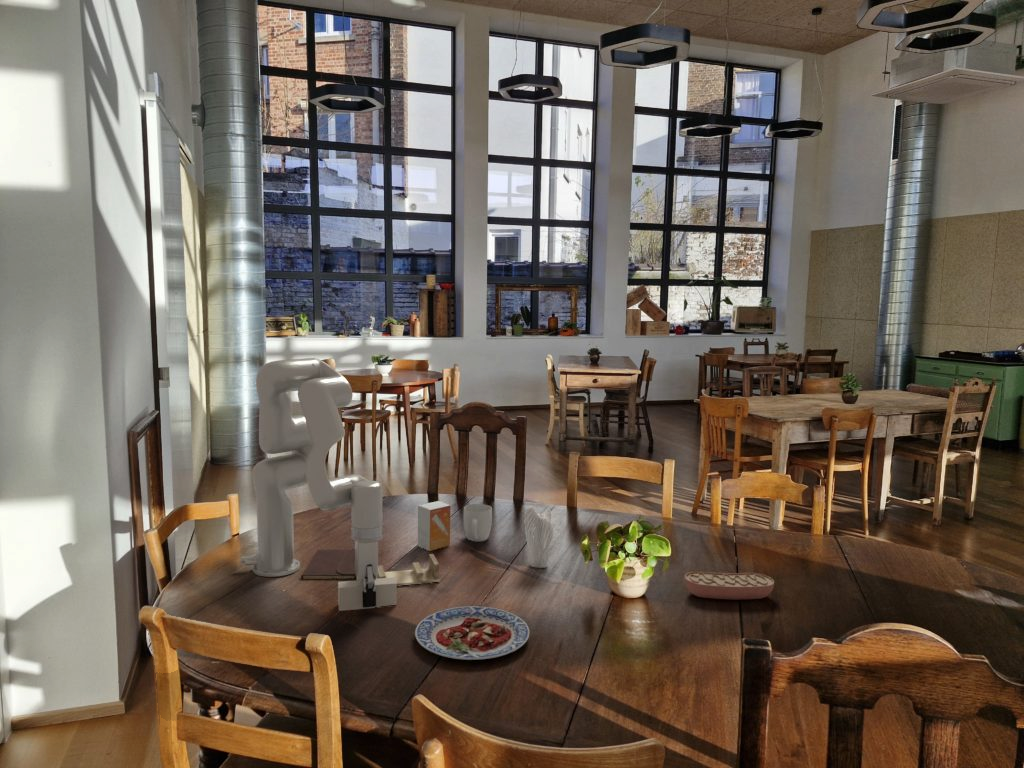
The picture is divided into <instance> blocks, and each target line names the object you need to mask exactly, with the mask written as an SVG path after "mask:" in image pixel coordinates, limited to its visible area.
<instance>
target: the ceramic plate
mask: <svg viewBox="0 0 1024 768" xmlns="http://www.w3.org/2000/svg"><path fill="white" fill-rule="evenodd" d="M414 635H415V639H416V641H417V643H418V644H419V645H420V646H421V647H423V648H424V649H425V650H426V651H429V652H430V653H433V654H435V655H439V656H441V657H445V658H449V659H455V660H465V661H466V660H467V661H472V660H473V661H475V660H477V661H478V660H486V659H494V658H495V659H496V658H498V657H502V656H506V655H508V654H510V653H513V652H515V651H517V650H518V649H520V648H521V647H523V646H524V645H525V644H526V642H527V641H528V639H529V636H530V628H529V626H528V624H527V623H526V622H525V621H524V620H523V618H521V617H519V616H518V615H516V614H513V613H512V612H509V611H506V610H504V609H499V608H496V607H495V608H494V607H488V606H479V605H478V606H475V605H474V606H473V605H472V606H471V605H470V606H458V607H451V608H446V609H443V610H439V611H436V612H434V613H432V614H430V615H428V616H425V617H424V619H422V620H421V621H420V622H419V623H418V624H417V625H416V628H415V630H414Z"/></svg>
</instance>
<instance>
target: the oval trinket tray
mask: <svg viewBox="0 0 1024 768" xmlns="http://www.w3.org/2000/svg"><path fill="white" fill-rule="evenodd" d="M684 582H685V583H684V584H685V587H686V589H687V590H688V591H689V592H690V593H691V594H692V595H694V596H696V597H698V598H703V599H704V598H705V599H713V600H714V599H715V600H732V601H733V600H740V601H741V600H760V599H764V598H766V597H767V596H768V595H770V594H771V593H772V591H773V589H774V587H775V581H774V579H773V578H772V577H770V576H768V575H766V574H763V573H759V572H758V573H757V572H738V573H737V572H732V573H729V572H711V571H710V572H708V571H690V572H687V573H686V574H685V575H684Z"/></svg>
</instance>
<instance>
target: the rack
mask: <svg viewBox="0 0 1024 768" xmlns="http://www.w3.org/2000/svg"><path fill="white" fill-rule="evenodd" d="M392 577H395V579H396V583H397V586H398V585H409V584H419V583H430V582H439V583H440V564H439V561H438V560H437V557H436V556H435V554H434V553H429V554H428V567H424V568H422V567H421V564H420V563H419V561H417V562H412V569H404V570H393V571H391V570H390V571H385V570H384V566H383V565H382V564H381V565H378V578H377V579H379V578H392ZM430 584H431V583H430ZM409 586H410V585H409Z"/></svg>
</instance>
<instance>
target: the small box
mask: <svg viewBox="0 0 1024 768" xmlns="http://www.w3.org/2000/svg"><path fill="white" fill-rule="evenodd" d="M451 508H452V507H451V504H448V503H445V502H443V501H440V500H436V501H433V502H432V501H431V502H427V503H424V504H419V505H417V547H418V546H419V548H420V549H423V548H424V549H423V550H425V549H426V551H429V552H432V551H436V550H438V548H439V549H443V548H445V547H446V546H447V547H450V546H449V545H451ZM442 547H443V548H442Z"/></svg>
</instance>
